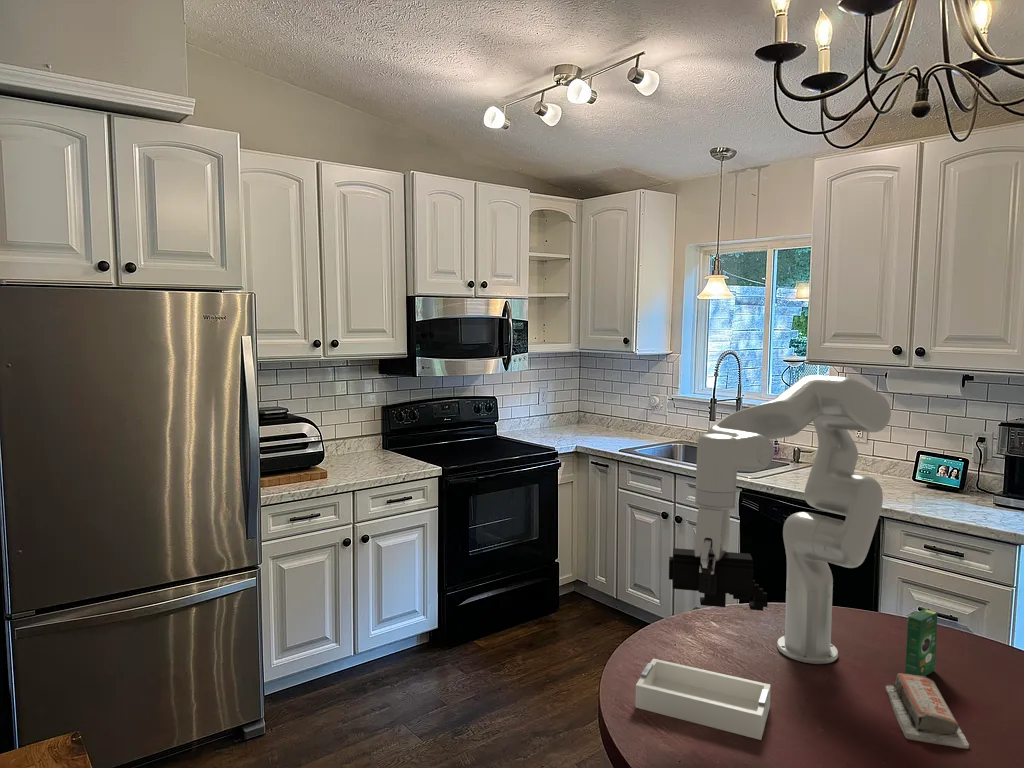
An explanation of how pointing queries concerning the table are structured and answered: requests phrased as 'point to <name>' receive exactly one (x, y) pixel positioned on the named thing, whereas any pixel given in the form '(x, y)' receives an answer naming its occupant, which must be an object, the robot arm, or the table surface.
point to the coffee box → (921, 643)
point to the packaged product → (924, 711)
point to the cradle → (704, 697)
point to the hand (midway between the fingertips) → (712, 585)
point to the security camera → (718, 578)
